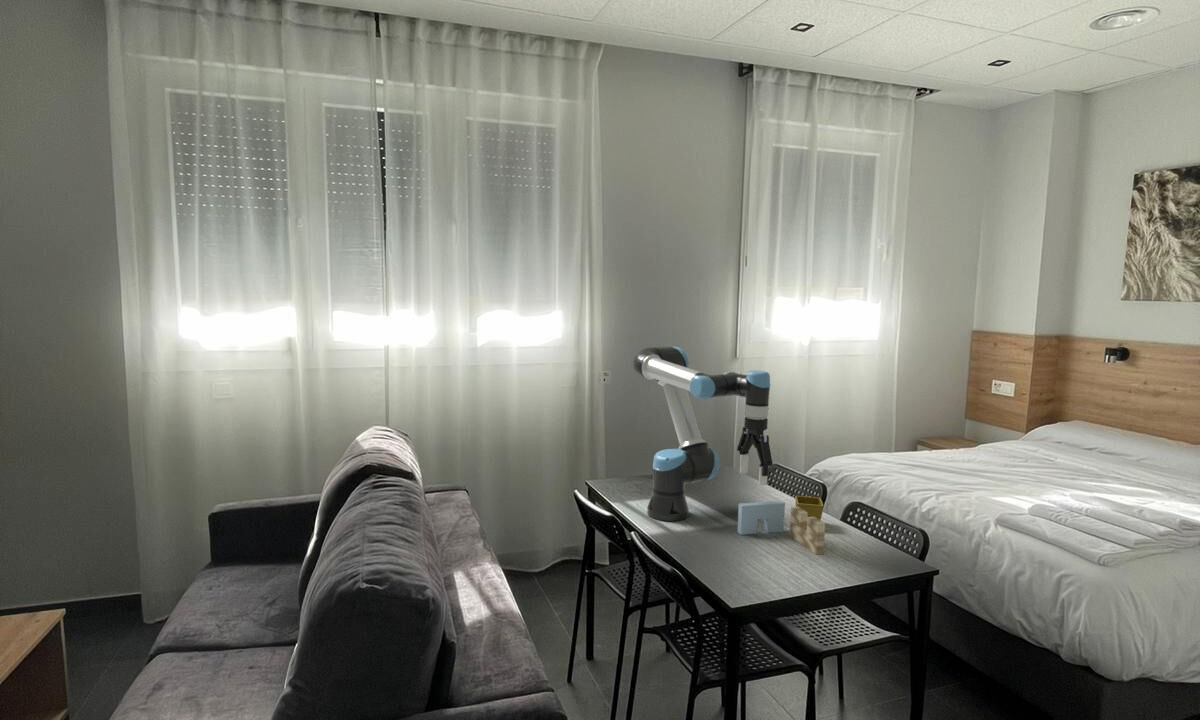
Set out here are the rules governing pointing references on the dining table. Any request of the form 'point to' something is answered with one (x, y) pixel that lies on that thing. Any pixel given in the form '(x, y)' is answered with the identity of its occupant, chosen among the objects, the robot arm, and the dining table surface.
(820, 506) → the flower pot
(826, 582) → the dining table surface
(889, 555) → the dining table surface
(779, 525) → the pale blue upright slab
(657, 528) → the dining table surface
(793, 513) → the tan wooden block
